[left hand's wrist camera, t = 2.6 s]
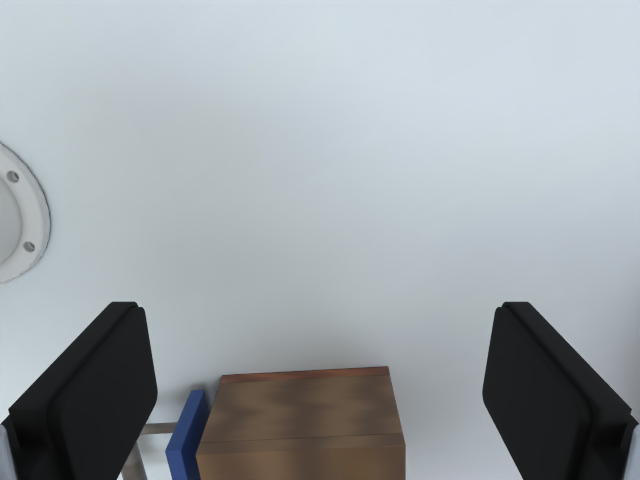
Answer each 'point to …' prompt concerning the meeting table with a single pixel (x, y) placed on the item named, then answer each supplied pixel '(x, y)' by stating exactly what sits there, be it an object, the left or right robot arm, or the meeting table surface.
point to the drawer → (175, 442)
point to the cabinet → (304, 427)
